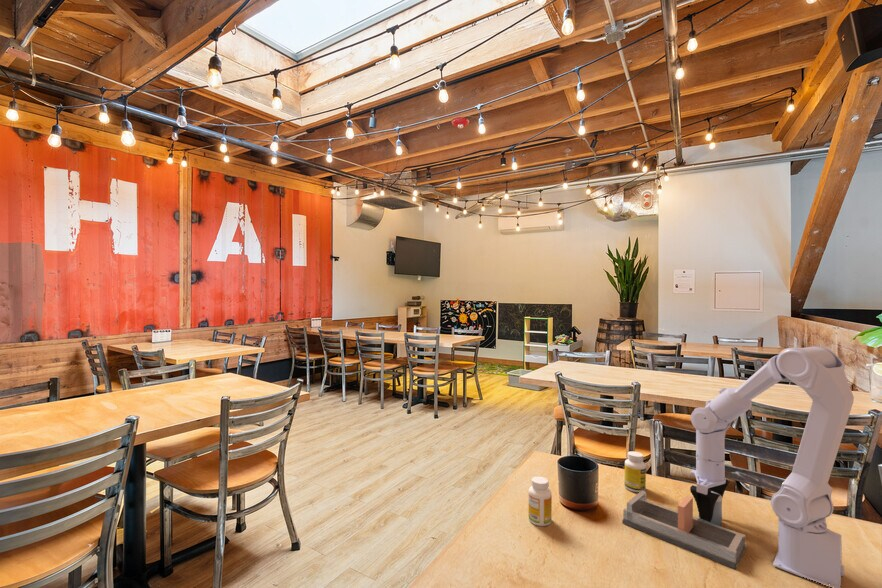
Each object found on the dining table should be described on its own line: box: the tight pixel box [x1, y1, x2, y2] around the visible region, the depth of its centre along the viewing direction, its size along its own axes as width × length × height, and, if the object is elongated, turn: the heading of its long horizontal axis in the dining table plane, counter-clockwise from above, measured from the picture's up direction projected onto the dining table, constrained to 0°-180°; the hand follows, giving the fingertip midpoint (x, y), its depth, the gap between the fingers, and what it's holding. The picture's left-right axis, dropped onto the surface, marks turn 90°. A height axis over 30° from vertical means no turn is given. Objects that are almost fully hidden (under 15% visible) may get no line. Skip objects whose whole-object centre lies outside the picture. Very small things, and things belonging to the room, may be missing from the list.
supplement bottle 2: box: [623, 450, 647, 493], centre depth 113 cm, size 5×5×10 cm
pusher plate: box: [677, 495, 694, 533], centre depth 90 cm, size 1×6×7 cm, turn 133°
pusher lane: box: [621, 491, 747, 570], centre depth 91 cm, size 22×10×5 cm, turn 43°
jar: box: [698, 491, 723, 527], centre depth 96 cm, size 5×5×6 cm
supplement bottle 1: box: [528, 476, 553, 527], centre depth 96 cm, size 5×5×10 cm
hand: (710, 514), depth 96 cm, fingers open, 7 cm apart
